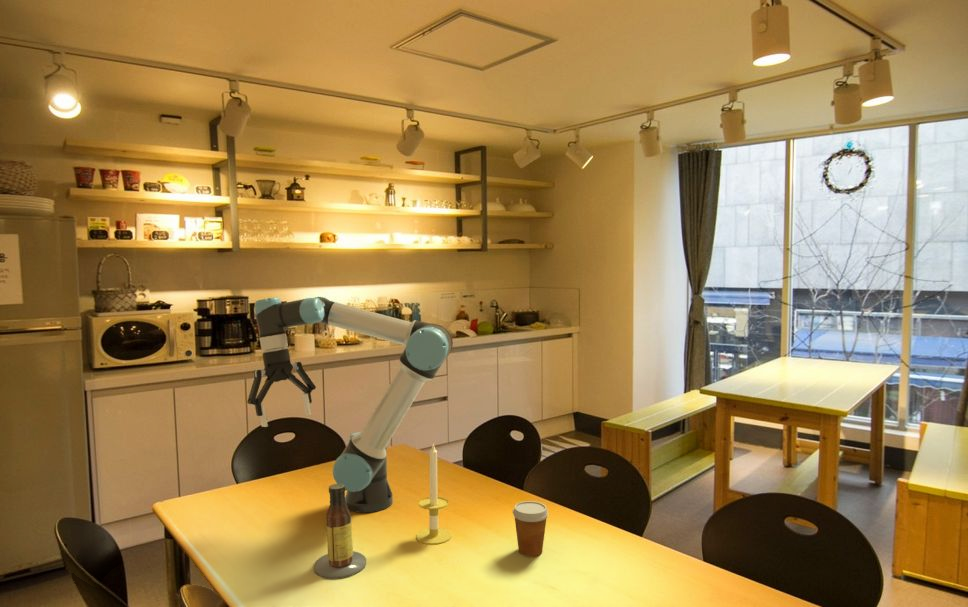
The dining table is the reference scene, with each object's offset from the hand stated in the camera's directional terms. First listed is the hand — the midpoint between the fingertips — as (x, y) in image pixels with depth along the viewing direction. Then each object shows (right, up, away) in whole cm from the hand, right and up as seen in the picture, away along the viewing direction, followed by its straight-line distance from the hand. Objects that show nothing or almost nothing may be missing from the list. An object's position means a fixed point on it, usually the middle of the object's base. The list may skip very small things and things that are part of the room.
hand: (287, 420), depth 179 cm
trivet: (+22, -32, -26) cm, 46 cm away
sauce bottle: (+22, -31, -26) cm, 46 cm away
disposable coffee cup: (+71, -32, -18) cm, 80 cm away
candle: (+44, -31, -9) cm, 55 cm away
